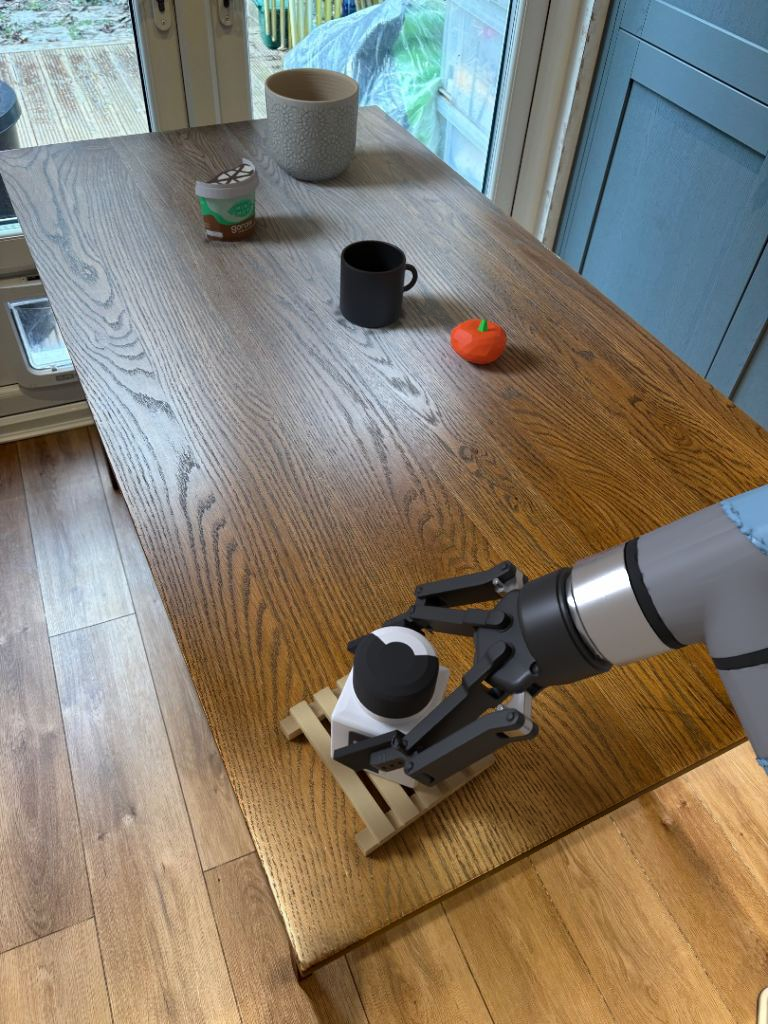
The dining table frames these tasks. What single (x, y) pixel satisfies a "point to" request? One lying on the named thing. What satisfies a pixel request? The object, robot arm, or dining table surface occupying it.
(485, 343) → the pumpkin
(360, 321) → the mug
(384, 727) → the container
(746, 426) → the dining table surface
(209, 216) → the food container
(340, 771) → the rack
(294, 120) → the planter
